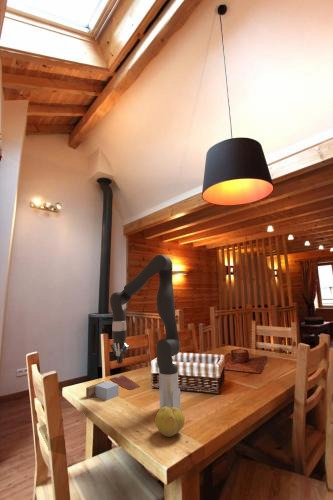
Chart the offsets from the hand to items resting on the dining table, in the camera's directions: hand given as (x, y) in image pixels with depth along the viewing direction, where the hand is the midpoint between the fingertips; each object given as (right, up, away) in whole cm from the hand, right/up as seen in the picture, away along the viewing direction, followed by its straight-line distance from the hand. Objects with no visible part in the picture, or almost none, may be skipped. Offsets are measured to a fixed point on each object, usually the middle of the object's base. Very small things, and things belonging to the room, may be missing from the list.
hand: (119, 363), depth 136 cm
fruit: (+26, -13, -35) cm, 45 cm away
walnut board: (-15, -21, +8) cm, 27 cm away
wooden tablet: (-1, -24, +26) cm, 35 cm away
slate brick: (-8, -21, +6) cm, 23 cm away
